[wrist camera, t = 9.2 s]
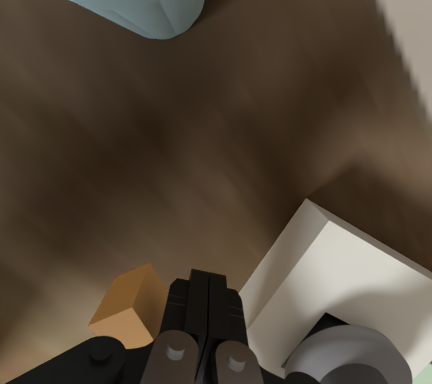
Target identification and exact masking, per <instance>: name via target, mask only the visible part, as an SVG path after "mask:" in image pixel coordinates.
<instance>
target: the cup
mask: <svg viewBox="0 0 432 384" xmlns="http://www.w3.org/2000/svg"><path fill="white" fill-rule="evenodd" d="M70 1H72V2H75V3H77V4H79V5H81V6H83V7H85V8H87V9H89V10H91V11H93V12H95V13H97V14H99V15H101V16H103V17H105V18H107V19H109V20H111V21H113V22H115V23H117V24H119V25H121V26H123V27H125V28H127V29H129V30H131V31H133V32H135V33H137V34H139V35H141V36H143V37H146V38H150V39H170V38H173V37H175V36H177V35H179V34H182V33H184V32H185V31H186V30H188V29H189V28H190V27H191V25H192V24H193V23H194V21H195V20H196V19H197V18H198V16H199V15H200V13H201V11H202V8H203V4H204V1H205V0H70Z"/></svg>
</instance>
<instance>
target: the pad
mask: <svg viewBox="0 0 432 384" xmlns="http://www.w3.org/2000/svg"><path fill="white" fill-rule="evenodd" d="M412 384H432V361H431V362H430V363H429V364H428V365H427V366H426V367H425V368H424V369H423V370H422V371H421V372H420V373H419V374H418V375H417V376H416V377H415V378H414V379H413V380H412Z"/></svg>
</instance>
